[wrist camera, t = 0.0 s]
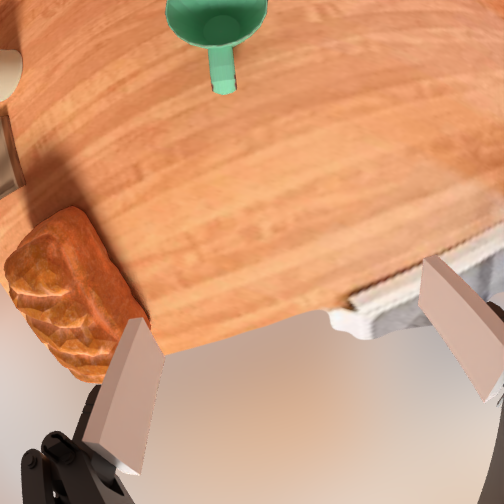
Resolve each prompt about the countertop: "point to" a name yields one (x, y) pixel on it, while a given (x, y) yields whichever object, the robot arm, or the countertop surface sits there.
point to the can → (9, 72)
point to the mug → (216, 31)
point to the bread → (72, 293)
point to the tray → (8, 161)
